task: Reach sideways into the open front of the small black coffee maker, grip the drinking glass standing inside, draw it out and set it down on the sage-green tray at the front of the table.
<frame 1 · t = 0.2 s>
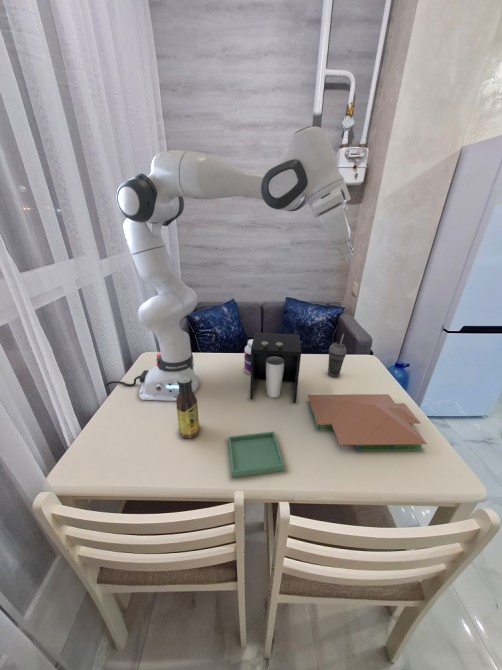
hand: (350, 256, 66), 54 cm above the table, tool tilted 30°, fingers open, 8 cm apart
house: (362, 424, 88), on the table
pill bottle: (253, 371, 117), on the table
black coffee maker: (273, 389, 104), on the table
beverage cup: (333, 375, 114), on the table
tray: (254, 455, 76), on the table
sauce bottle: (189, 431, 84), on the table
drinking glass: (273, 394, 102), on the table
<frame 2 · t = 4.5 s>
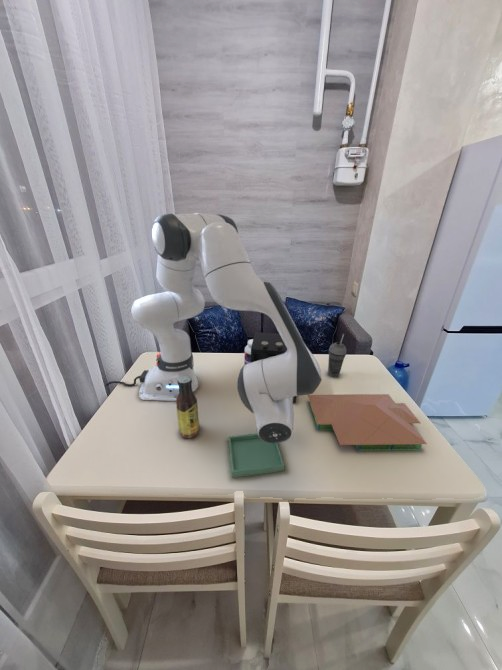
hand: (275, 365, 83), 20 cm above the table, tool horizontal, fingers open, 8 cm apart
nothing on the table moved.
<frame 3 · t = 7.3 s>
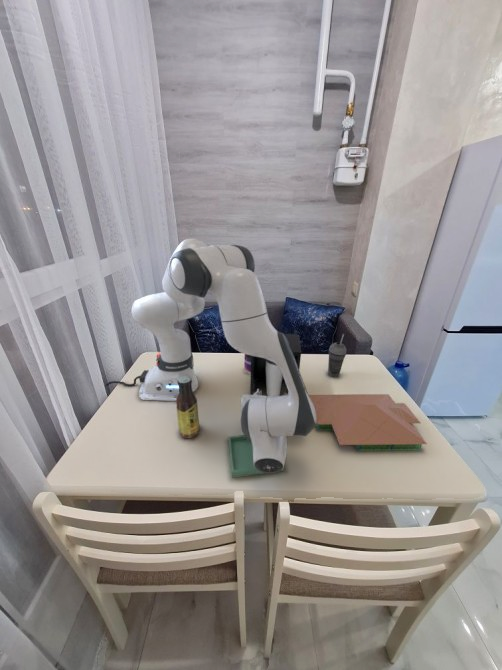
hand: (273, 391, 90), 9 cm above the table, tool horizontal, fingers open, 8 cm apart
nothing on the table moved.
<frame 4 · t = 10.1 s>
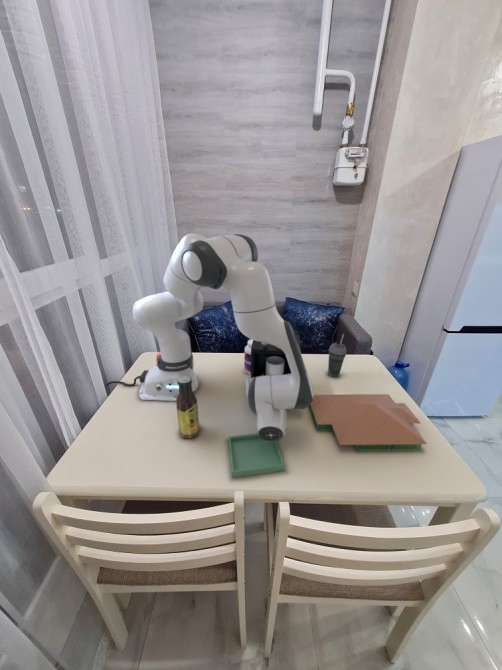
hand: (274, 375, 99), 8 cm above the table, tool horizontal, fingers closed on drinking glass, 6 cm apart
drinking glass: (273, 394, 102), on the table, touching gripper
everything else where it was.
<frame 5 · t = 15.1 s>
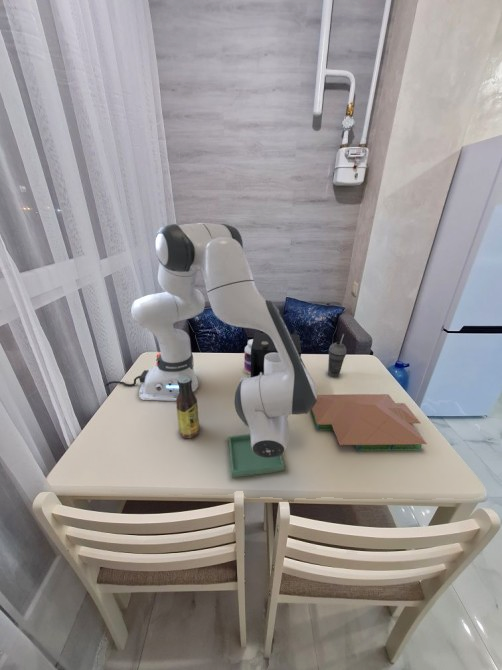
hand: (274, 375, 84), 17 cm above the table, tool horizontal, fingers closed on drinking glass, 6 cm apart
drinking glass: (273, 397, 86), point 9 cm above the table, touching gripper
everything else where it was.
when the fingers open (9 cm above the table, at t = 20.1 s): drinking glass stays where it is, resting on tray.
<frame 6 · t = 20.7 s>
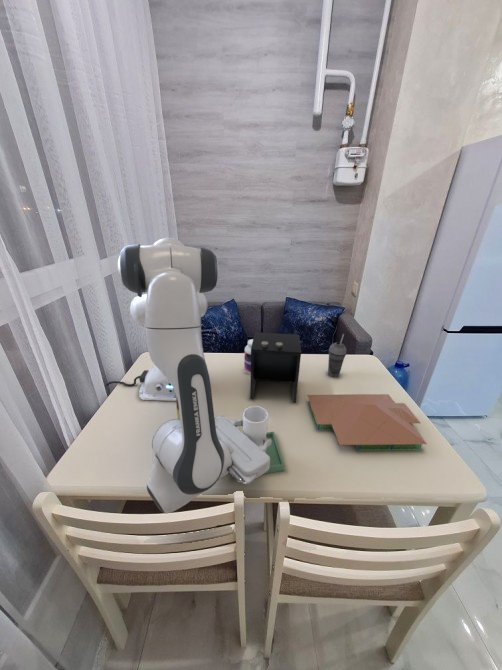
hand: (257, 429, 73), 9 cm above the table, tool horizontal, fingers open, 8 cm apart
drinking glass: (254, 454, 76), resting on tray
everything else where it was.
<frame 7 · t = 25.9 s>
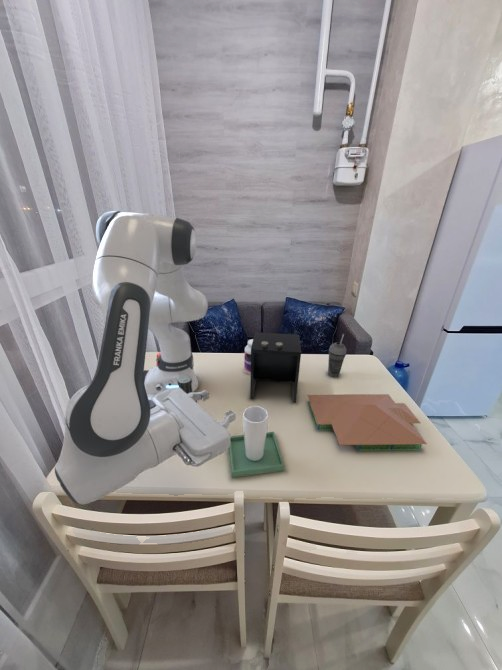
hand: (220, 403, 59), 25 cm above the table, tool horizontal, fingers open, 8 cm apart
nothing on the table moved.
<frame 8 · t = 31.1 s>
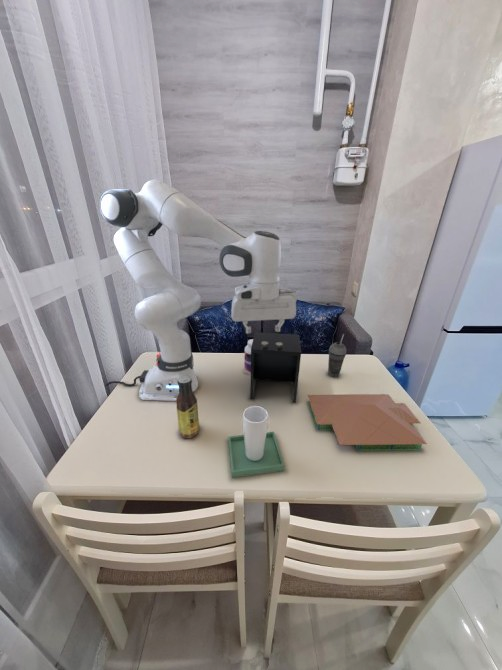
hand: (263, 331, 84), 29 cm above the table, tool pointing down, fingers open, 8 cm apart
nothing on the table moved.
at the end: drinking glass inside the target area in the tray (0.1 cm from its centre), point 0.4 cm above the tray's base; drinking glass tilted 0° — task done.
